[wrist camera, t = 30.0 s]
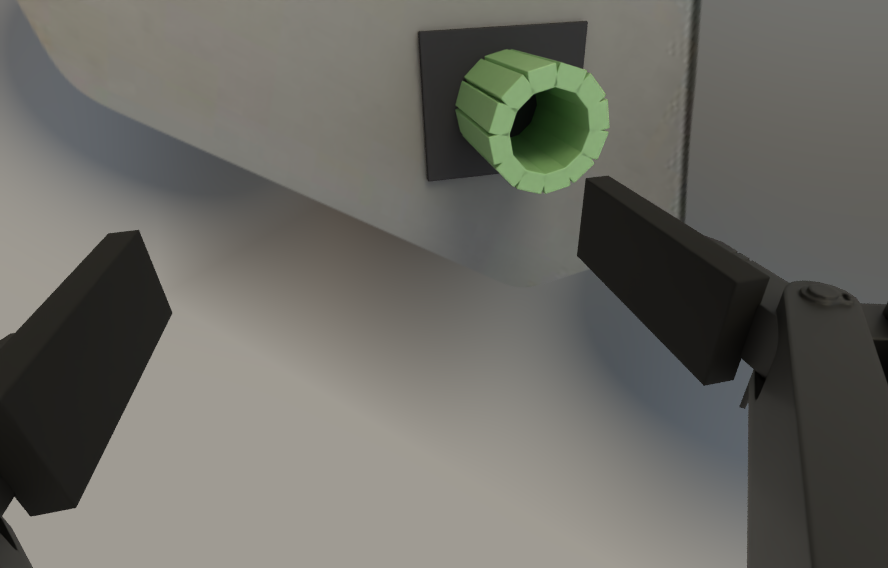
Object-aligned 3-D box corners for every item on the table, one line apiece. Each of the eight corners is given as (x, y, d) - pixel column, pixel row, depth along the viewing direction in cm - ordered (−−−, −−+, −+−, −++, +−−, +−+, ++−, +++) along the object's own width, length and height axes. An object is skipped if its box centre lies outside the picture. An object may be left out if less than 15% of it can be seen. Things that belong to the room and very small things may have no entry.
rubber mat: (427, 179, 44) (428, 181, 43) (418, 31, 38) (419, 31, 37) (571, 163, 46) (573, 165, 46) (584, 21, 40) (588, 21, 39)
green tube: (435, 107, 40) (464, 136, 32) (510, 25, 38) (562, 32, 30) (500, 174, 44) (540, 215, 36) (570, 103, 42) (631, 129, 34)
